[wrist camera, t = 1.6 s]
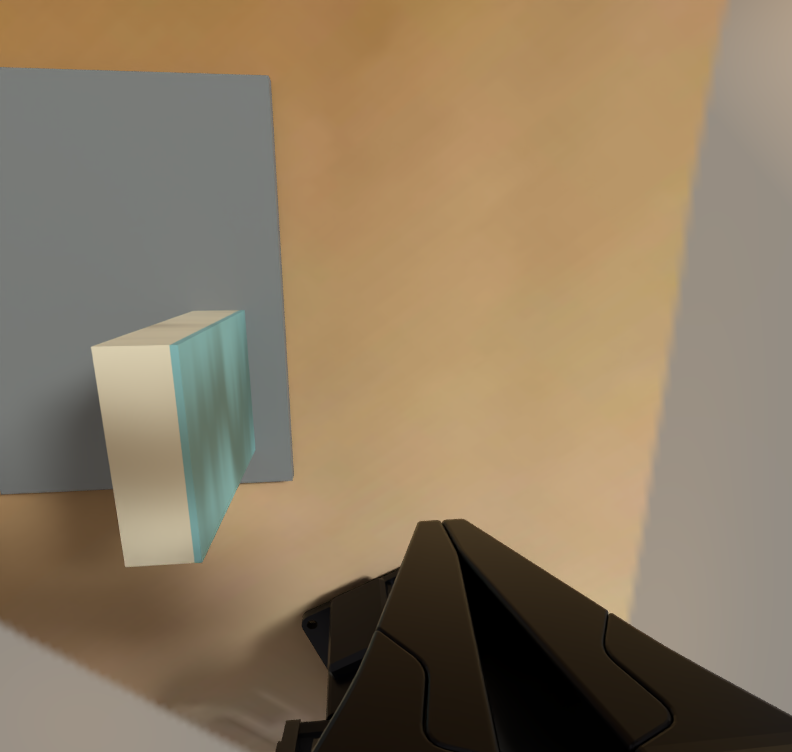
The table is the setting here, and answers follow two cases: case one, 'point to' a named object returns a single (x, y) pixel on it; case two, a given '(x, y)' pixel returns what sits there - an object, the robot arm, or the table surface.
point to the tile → (175, 431)
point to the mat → (130, 251)
